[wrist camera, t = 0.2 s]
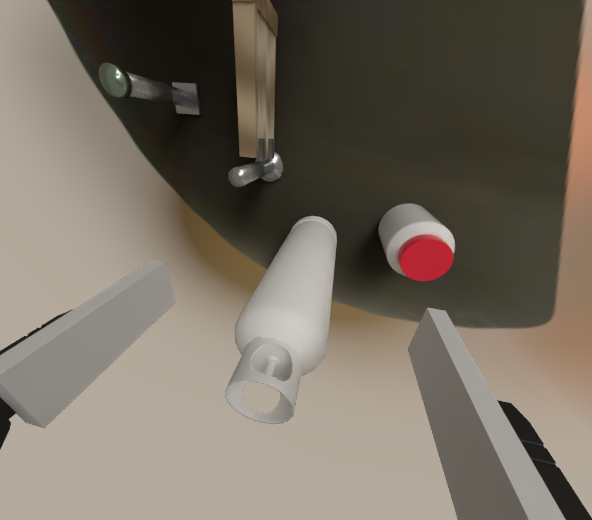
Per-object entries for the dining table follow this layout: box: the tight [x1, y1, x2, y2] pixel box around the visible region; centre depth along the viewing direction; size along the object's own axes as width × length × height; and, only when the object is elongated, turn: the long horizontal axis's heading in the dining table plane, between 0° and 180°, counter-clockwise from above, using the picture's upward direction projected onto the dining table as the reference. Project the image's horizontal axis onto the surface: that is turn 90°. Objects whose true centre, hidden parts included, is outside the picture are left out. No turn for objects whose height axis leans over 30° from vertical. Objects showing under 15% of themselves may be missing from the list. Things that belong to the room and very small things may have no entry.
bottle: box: [225, 216, 337, 424], centre depth 27 cm, size 8×8×28 cm
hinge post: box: [229, 151, 284, 187], centre depth 29 cm, size 4×4×12 cm
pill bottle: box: [378, 204, 455, 281], centre depth 30 cm, size 8×8×11 cm
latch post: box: [99, 63, 202, 115], centre depth 27 cm, size 4×4×12 cm
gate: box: [232, 0, 278, 161], centre depth 26 cm, size 15×2×8 cm, turn 176°
